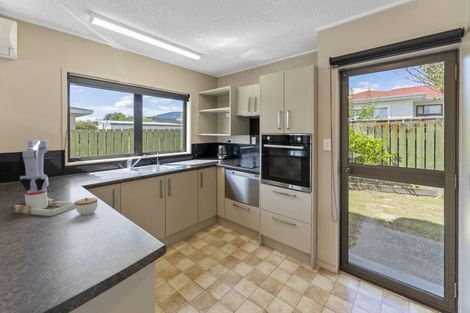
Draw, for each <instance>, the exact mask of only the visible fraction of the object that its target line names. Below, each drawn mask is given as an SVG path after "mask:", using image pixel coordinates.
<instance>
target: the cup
mask: <svg viewBox="0 0 470 313" xmlns="http://www.w3.org/2000/svg"><path fill="white" fill-rule="evenodd" d="M48 198H49V197H48V192H47V190H46V191H38V192H31V193H25V194H24V199H25V200H24V201H25V206H32V209H33V208H34V209H45V210H46V209H47V208H48V207H49V206H48Z"/></svg>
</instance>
